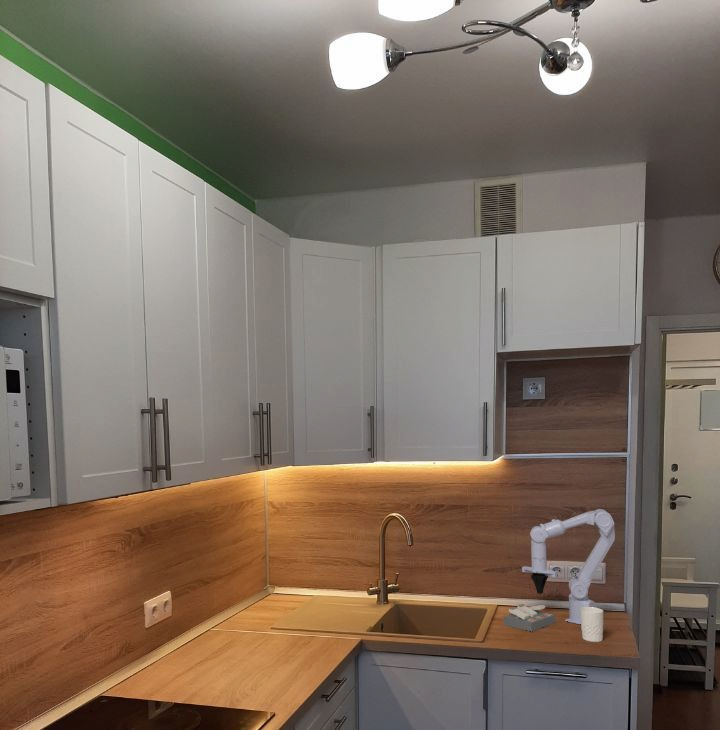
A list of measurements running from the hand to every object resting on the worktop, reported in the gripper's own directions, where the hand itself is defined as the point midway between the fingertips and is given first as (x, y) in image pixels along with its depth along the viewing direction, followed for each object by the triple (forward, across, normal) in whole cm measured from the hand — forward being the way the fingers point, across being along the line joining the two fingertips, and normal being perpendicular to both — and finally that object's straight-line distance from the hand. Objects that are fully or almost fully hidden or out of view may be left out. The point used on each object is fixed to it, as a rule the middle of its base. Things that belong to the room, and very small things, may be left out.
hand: (540, 593), depth 255 cm
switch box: (+10, 0, -9) cm, 13 cm away
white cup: (+10, +26, -8) cm, 29 cm away
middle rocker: (+5, 0, -9) cm, 10 cm away
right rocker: (+5, 0, -3) cm, 6 cm away
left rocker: (+5, -1, -14) cm, 15 cm away
